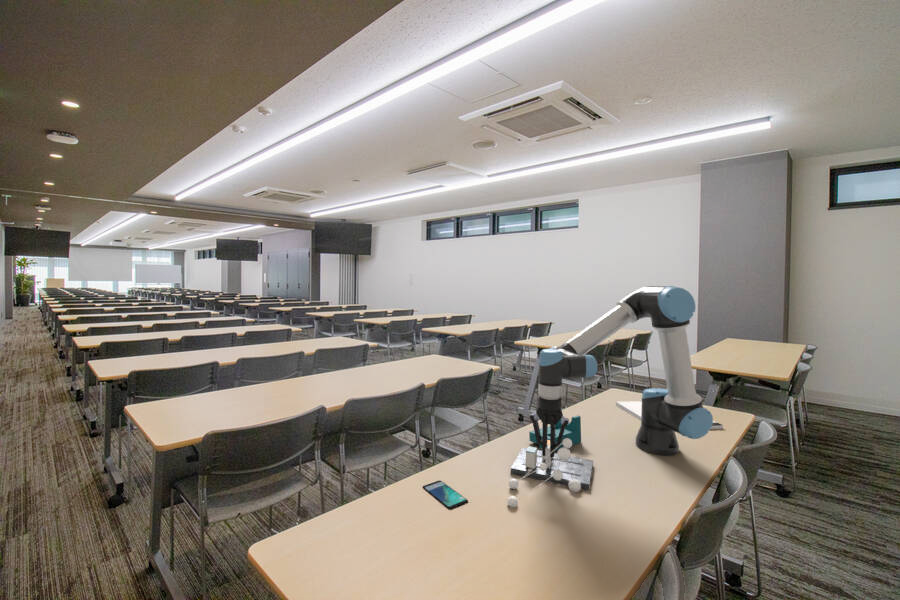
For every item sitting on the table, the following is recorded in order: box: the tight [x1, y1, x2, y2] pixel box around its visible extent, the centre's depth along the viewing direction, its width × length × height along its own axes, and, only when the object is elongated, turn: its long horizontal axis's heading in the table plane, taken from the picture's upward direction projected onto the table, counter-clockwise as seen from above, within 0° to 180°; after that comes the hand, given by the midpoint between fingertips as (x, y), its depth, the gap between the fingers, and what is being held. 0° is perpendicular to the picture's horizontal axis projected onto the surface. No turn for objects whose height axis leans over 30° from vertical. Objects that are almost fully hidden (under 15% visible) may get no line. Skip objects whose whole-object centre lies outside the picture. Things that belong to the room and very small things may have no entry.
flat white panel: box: [615, 400, 724, 430], centre depth 192 cm, size 35×2×31 cm
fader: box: [525, 446, 538, 468], centre depth 134 cm, size 3×4×5 cm
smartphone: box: [422, 480, 469, 510], centre depth 119 cm, size 7×1×15 cm
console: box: [510, 446, 594, 491], centre depth 136 cm, size 25×18×2 cm
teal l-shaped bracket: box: [529, 415, 582, 452], centre depth 158 cm, size 18×11×10 cm, turn 124°
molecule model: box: [507, 438, 582, 508], centre depth 119 cm, size 14×25×18 cm, turn 98°
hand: (548, 465), depth 132 cm, fingers closed
